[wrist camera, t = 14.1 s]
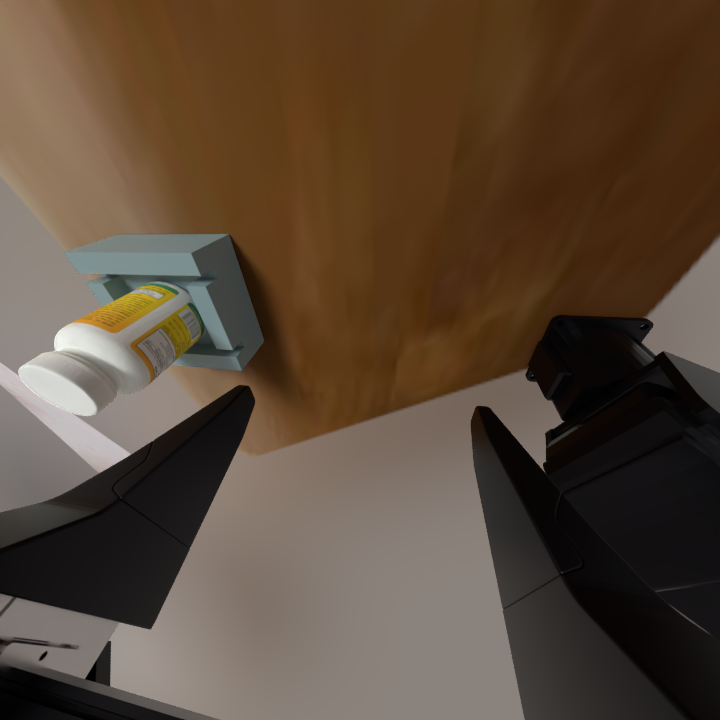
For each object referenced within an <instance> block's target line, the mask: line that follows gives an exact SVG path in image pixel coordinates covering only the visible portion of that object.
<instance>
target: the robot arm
mask: <svg viewBox="0 0 720 720" xmlns="http://www.w3.org/2000/svg"><path fill="white" fill-rule="evenodd" d="M559 321H562V322H561V323H559V324H557V322H559ZM642 325H644V326H642ZM641 326H642V327H641ZM652 327H653V323H652V322H651V321H650V320H648V319H646V318H621V317H595V316H568V315H559V316H556V317H554V318H553V319H552V320H551V322H550V324H549V326H548V328H547V330H546V332H545V334H544V336H543V339H542V340H541V341H540V342H539V343H538V345H537V347H536V349H535V352H534V354H533V356H532V358H531V360H530V362H529V368H528V370H527V372H526V378H527V380H529V381H532V382H537V383H538V385H539V387H540V389H541V391H542V393H543V395H544V397H545V398H546V399H547V400H551V401H552V402H553V404H554V405H555V407H556V409H557V411H558V413H559V415H560V417H561V419H562V420H563V421H565V422H563V423H562V424H560V425H559V426H557V427H556V428H555V429H550V430H549V431H547V432H546V433H545V436H546V462H544V463H543V467H544V471H545V472H544V471H543V470H542V469H541V468H540V466H539V465H538V464H537V463H536V462H535V461H534V459H533V458H532V457H531V456H530V455H529V454H528V452H527V451H526V450H525V449H524V448H523V447H522V445H521V444H520V443H519V442H518V441H517V439H516V438H515V437H514V436H513V435H512V434H511V432H510V431H509V430H508V429H507V428H506V427H505V426H504V424H503V423H502V422H501V421H500V420H499V418H498V417H497V416H496V415H495V414H494V413H493V412H492V410H491V409H490V408H489V407H486V406H477V407H476V408H475V411H474V413H473V416H472V419H471V435H472V448H473V460H474V468H475V473H476V478H477V483H478V488H479V493H480V498H481V503H482V508H483V513H484V518H485V523H486V528H487V533H488V538H489V543H490V548H491V553H492V558H493V563H494V568H495V573H496V578H497V583H498V588H499V593H500V598H501V603H502V607H503V609H504V610H503V614H504V619H505V624H506V629H507V633H508V638H509V644H510V649H511V654H512V659H513V664H514V669H515V674H516V678H517V683H518V688H519V694H520V698H521V704H522V709H523V713H524V718H525V720H720V373H718V372H716V371H713V370H710V369H708V368H706V367H703V366H700V365H698V364H695V363H693V362H690V361H688V360H685V359H683V358H680V357H678V356H675V355H673V354H670V353H668V352H665V351H663V352H661V353H660V354H658V355H657V356H656V355H655V354H654V353H652V352H651V351H650V350H649V349H648V348H647V347H646V346H645V345H644V344H642V343H641V342H642V340H643V339H644V338H645V336H646V335H647V334H648V333H649V331H650V330H651V329H652ZM532 375H534V376H532ZM254 405H255V398H254V396H253V393H252V391H251V389H250V387H249V386H245V385H238V386H236V387H235V388H233V389H232V390H230V391H229V392H227V393H226V394H224V395H222V396H221V397H219V398H218V399H216V400H215V401H213V402H212V403H210V404H209V405H207V406H206V407H204V408H203V409H201V410H199V411H198V412H196V413H195V414H193V415H192V416H191V417H189V418H187V419H186V420H184V421H183V422H181V423H180V424H178V425H176V426H175V427H174V428H172V429H170V430H169V431H167V432H166V433H164V434H163V435H161V436H159V437H158V438H157V439H155V440H154V441H152V442H150V443H149V444H147V445H146V446H144V447H142V448H141V449H139V450H138V451H136V452H135V453H133V454H131V455H130V456H128V457H127V458H125V459H123V460H121V461H120V462H118V463H116V464H115V465H113V466H111V467H110V468H108V469H106V470H104V471H103V472H101V473H99V474H97V475H96V476H94V477H92V478H91V479H89V480H87V481H85V482H84V483H82V484H80V485H78V486H77V487H75V488H73V489H71V490H70V491H68V492H66V493H64V494H62V495H60V496H58V497H55V498H53V499H50V500H47V501H44V502H41V503H37V504H34V505H30V506H25V507H21V508H17V509H13V510H9V511H5V512H1V513H0V720H219V719H215V718H212V717H209V716H205V715H202V714H199V713H195V712H192V711H189V710H186V709H182V708H179V707H176V706H172V705H169V704H166V703H162V702H159V701H156V700H153V699H149V698H146V697H143V696H139V695H136V694H133V693H129V692H126V691H122V690H119V689H116V688H113V687H110V658H111V657H110V656H111V654H110V653H111V641H108V640H109V639H110V637H111V636H112V634H113V632H114V631H115V629H116V627H117V626H118V624H119V623H120V622H121V623H125V624H129V625H133V626H137V627H141V628H146V629H151V628H152V626H153V624H154V623H155V621H156V619H157V617H158V614H159V612H160V610H161V608H162V606H163V604H164V602H165V600H166V598H167V596H168V593H169V591H170V589H171V587H172V585H173V583H174V581H175V579H176V577H177V575H178V573H179V571H180V568H181V566H182V564H183V562H184V560H185V558H186V556H187V554H188V552H189V550H190V547H191V545H192V543H193V541H194V539H195V537H196V535H197V533H198V530H199V528H200V526H201V524H202V522H203V520H204V518H205V516H206V514H207V512H208V510H209V507H210V505H211V503H212V501H213V499H214V497H215V495H216V493H217V490H218V488H219V486H220V484H221V482H222V480H223V478H224V476H225V474H226V472H227V470H228V467H229V466H230V463H231V461H232V459H233V457H234V455H235V453H236V451H237V449H238V447H239V445H240V443H241V440H242V438H243V436H244V433H245V430H246V428H247V425H248V422H249V419H250V416H251V413H252V411H253V408H254ZM545 473H546V474H545ZM682 615H683V616H682ZM693 623H694V624H693Z"/></svg>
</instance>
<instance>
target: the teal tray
mask: <svg viewBox="0 0 720 720" xmlns="http://www.w3.org/2000/svg"><path fill="white" fill-rule="evenodd" d="M63 253H64V255H65V256H66V257H67V259H68V260H69V262H70V263H71V264H72V266H73V267H74V268H75V270H76V271H77V272H78V273H81V274H103V276H101V277H99V278H96V279H94V280H92V281H89V282H87V283H86V285H87V286H88V288H89V289H90V290H91V292H92V293H93V294H94V296H95V297H96V298H97V300H98V301H99V303H100V304H101V305H102V307H103V306H105V305H107V304H109V303H111V302H113V301H115V300H117V299H119V298H121V297H123V296H125V295H127V294H128V293H130V292H132V291H134V290H136V289H138V288H140V287H142V286H143V285H146V284H148V283H150V282H155V281H162V282H167V283H171V284H174V285H177V286H179V287H181V288H182V289H184V290H186V291H187V292H189V293H190V295H191V297H192V299H193V301H194V303H195V305H196V307H197V309H198V311H199V314H200V316H201V318H202V320H203V322H204V324H205V326H206V328H207V330H206V332H205V334H204V335H203V336H202V337H201V338H200V339H199V340H198V341H197V342H196V343H194V344H193V345H192V346H191V347H190V348H189V349H188V350H187V351H186V352H184V353H183V354H182V355H181V356H180V357H179V358H178V359H177V360H176V361H175V362H173V363H172V364H171V365H177V366H189V367H202V368H214V369H227V370H239V371H242V370H243V369H244V368H245V366H246V365H247V364H248V362H249V361H250V360H251V358H252V357H253V356H254V354H255V353H256V352H257V350H258V349H259V348H260V346H261V345H262V344H263V342H264V338H263V335H262V332H261V329H260V326H259V323H258V320H257V317H256V314H255V311H254V308H253V305H252V302H251V299H250V296H249V293H248V290H247V287H246V284H245V281H244V278H243V275H242V272H241V269H240V266H239V263H238V260H237V257H236V254H235V251H234V248H233V245H232V242H231V239H230V236H229V234H142V235H115V236H112V237H109V238H106V239H103V240H100V241H96V242H93V243H90V244H87V245H84V246H81V247H78V248H74V249H71V250H68V251H65V252H63Z"/></svg>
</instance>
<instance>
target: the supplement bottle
mask: <svg viewBox="0 0 720 720" xmlns="http://www.w3.org/2000/svg"><path fill="white" fill-rule="evenodd" d="M206 330H207V328H206V326H205V324H204V322H203V320H202V318H201V316H200V314H199V311H198V309H197V307H196V305H195V303H194V301H193V299H192V297H191V295H190V293H189V292H187V291H186V290H184V289H182V288H181V287H179V286H177V285H174V284H171V283H167V282H162V281H155V282H150V283H148V284H146V285H143V286H142V287H140V288H138V289H136V290H134V291H132V292H130V293H128V294H127V295H125V296H123V297H121V298H119V299H117V300H115V301H113V302H111V303H109V304H107V305H105V306H103V307H102V308H100V309H98V310H96V311H94V312H92V313H90V314H88V315H86V316H84V317H82V318H80V319H78V320H76V321H74V322H72V323H70V324H68V325H67V326H65V327H63V328H62V329H61V330H60V331H59V332H58V333H57V335H56V337H55V340H54V347H55V351H52V352H45V353H42V354H40V355H39V356H38V357H36V358H34V359H33V360H31V361H29V362H28V363H26V364H25V365H23V366H21V368H20V369H19V376H20V378H21V380H22V381H23V383H24V384H25V385H26V386H27V387H28V388H29V389H30V390H31V391H32V392H34V393H35V394H36V395H38V396H39V397H41V398H42V399H44V400H45V401H47V402H48V403H50V404H52V405H54V406H56V407H58V408H60V409H62V410H65V411H67V412H70V413H73V414H77V415H82V416H92V415H95V414H97V413H98V412H99V411H101V410H102V409H103V408H104V407H105V406H107V405H108V404H109V403H111V402H112V401H113V400H114V398H115V397H116V395H117V394H131V393H135V392H138V391H140V390H142V389H144V388H145V387H146V386H148V385H149V384H150V383H151V382H152V381H153V380H154V379H156V378H157V377H158V376H159V375H160V374H161V373H162V372H163V371H164V370H165V369H167V368H168V367H169V366H170V365H171V364H172V363H173V362H175V361H176V360H177V359H178V358H179V357H180V356H181V355H182V354H183V353H184V352H186V351H187V350H188V349H189V348H190V347H191V346H192V345H193V344H194V343H196V342H197V341H198V340H199V339H200V338H201V337H202V336H203V335H204V334H205V332H206Z"/></svg>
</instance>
